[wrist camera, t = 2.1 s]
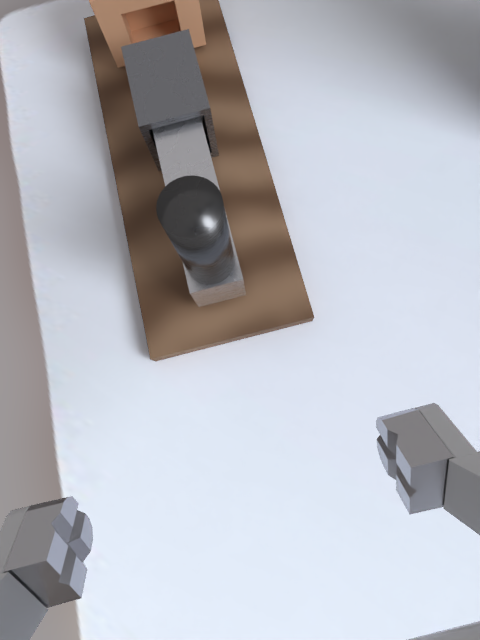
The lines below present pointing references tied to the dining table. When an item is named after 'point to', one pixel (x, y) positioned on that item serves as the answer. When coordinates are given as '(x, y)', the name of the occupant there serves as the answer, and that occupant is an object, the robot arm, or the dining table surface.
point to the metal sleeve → (167, 86)
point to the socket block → (146, 21)
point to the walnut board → (238, 197)
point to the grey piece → (196, 213)
